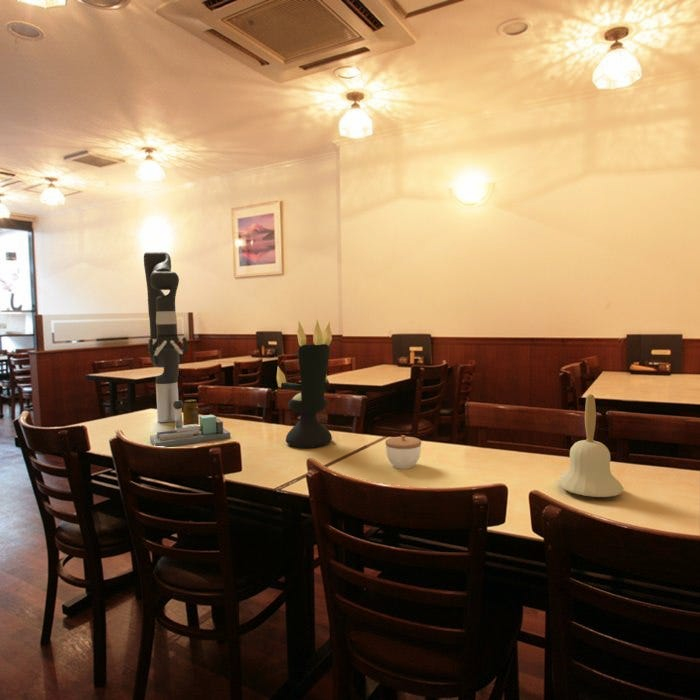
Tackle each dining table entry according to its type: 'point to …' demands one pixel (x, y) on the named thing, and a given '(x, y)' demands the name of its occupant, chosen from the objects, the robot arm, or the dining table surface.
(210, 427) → the housing
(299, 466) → the dining table surface
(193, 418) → the condiment
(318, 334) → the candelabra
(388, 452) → the lidded jar
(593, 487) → the handbell
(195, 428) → the ram
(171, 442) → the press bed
